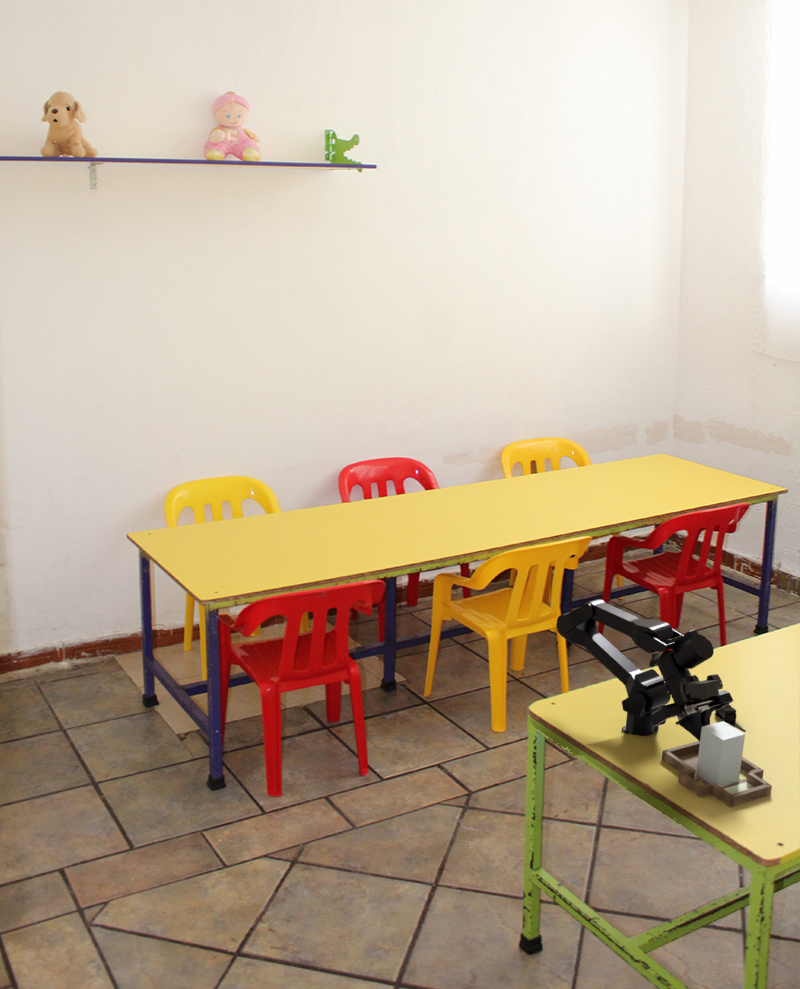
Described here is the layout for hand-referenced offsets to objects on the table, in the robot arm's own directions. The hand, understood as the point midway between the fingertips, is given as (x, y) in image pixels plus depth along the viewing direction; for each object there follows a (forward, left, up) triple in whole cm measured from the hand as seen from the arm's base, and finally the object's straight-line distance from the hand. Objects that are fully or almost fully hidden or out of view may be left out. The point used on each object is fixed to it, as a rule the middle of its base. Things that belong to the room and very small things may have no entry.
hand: (709, 746), depth 206 cm
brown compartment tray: (0, -2, -7) cm, 7 cm away
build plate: (+18, +19, -7) cm, 27 cm away
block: (0, -3, -6) cm, 6 cm away
